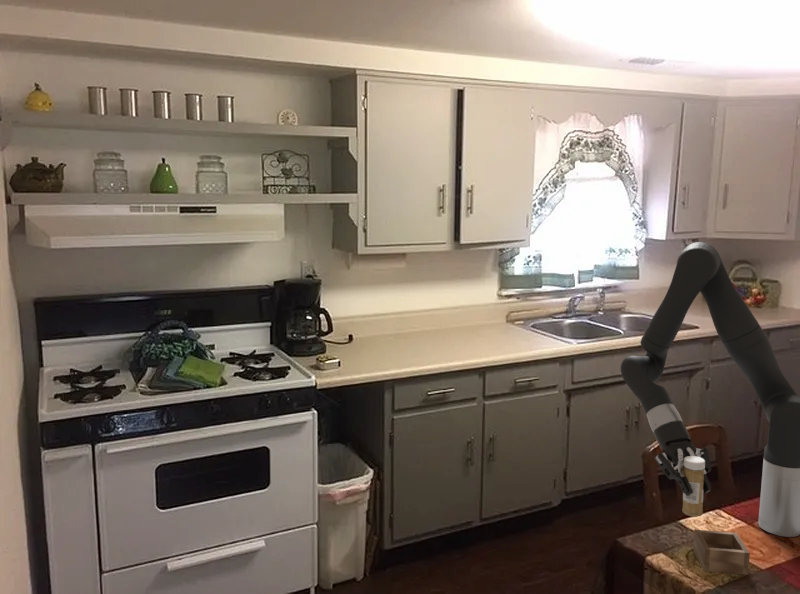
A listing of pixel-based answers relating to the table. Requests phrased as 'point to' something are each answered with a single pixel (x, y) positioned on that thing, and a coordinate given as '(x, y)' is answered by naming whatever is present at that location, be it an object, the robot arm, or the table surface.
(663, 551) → the table surface
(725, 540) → the open square sleeve
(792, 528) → the robot arm
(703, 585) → the table surface
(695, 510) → the sprinkles bottle
